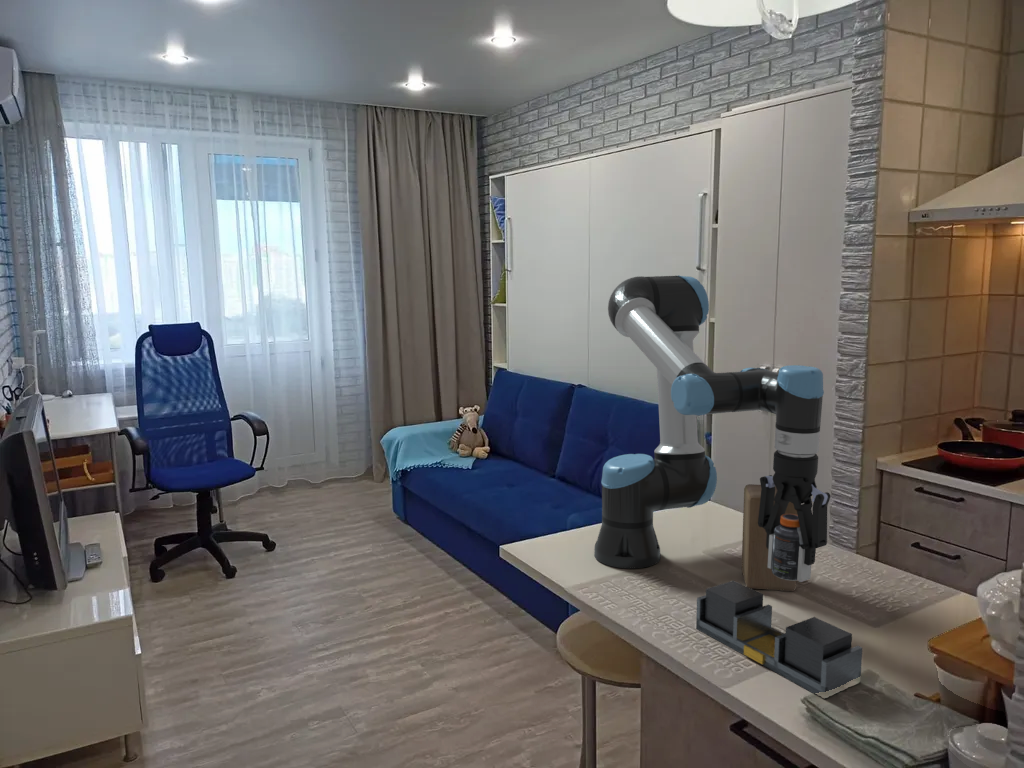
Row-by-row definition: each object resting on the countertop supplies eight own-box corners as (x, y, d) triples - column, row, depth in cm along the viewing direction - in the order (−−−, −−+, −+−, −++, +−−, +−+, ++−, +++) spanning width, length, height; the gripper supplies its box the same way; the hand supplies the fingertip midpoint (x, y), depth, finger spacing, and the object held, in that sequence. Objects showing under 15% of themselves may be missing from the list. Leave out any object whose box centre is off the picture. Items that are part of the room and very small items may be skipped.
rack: (694, 629, 136) (695, 588, 135) (730, 617, 141) (731, 577, 139) (822, 700, 113) (825, 651, 112) (860, 683, 117) (863, 635, 116)
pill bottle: (812, 580, 135) (816, 520, 133) (783, 583, 134) (786, 523, 132) (793, 566, 140) (797, 509, 139) (765, 569, 139) (768, 512, 137)
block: (796, 593, 151) (801, 498, 148) (745, 589, 153) (748, 496, 150) (788, 574, 160) (792, 484, 158) (740, 570, 162) (743, 482, 160)
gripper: (740, 443, 139) (735, 559, 143) (828, 467, 123) (819, 597, 127) (768, 438, 143) (761, 551, 147) (856, 461, 127) (847, 587, 131)
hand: (788, 572), depth 137 cm, fingers closed on pill bottle, 6 cm apart
